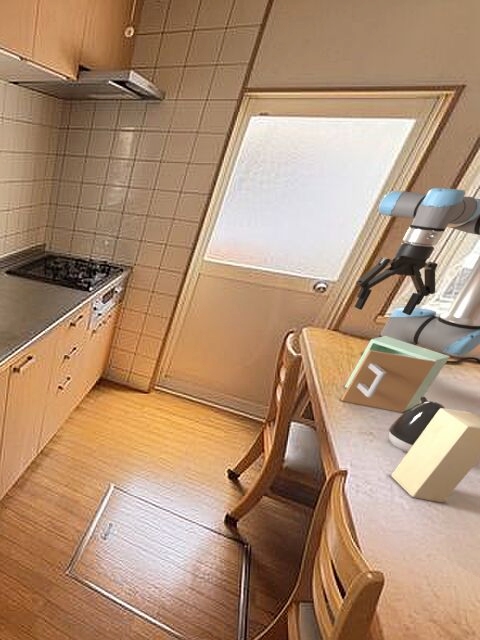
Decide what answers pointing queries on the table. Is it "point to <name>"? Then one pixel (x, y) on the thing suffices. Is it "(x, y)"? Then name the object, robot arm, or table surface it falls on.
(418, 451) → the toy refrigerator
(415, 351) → the box
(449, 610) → the table surface
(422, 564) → the table surface
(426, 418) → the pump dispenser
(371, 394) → the cooler door
